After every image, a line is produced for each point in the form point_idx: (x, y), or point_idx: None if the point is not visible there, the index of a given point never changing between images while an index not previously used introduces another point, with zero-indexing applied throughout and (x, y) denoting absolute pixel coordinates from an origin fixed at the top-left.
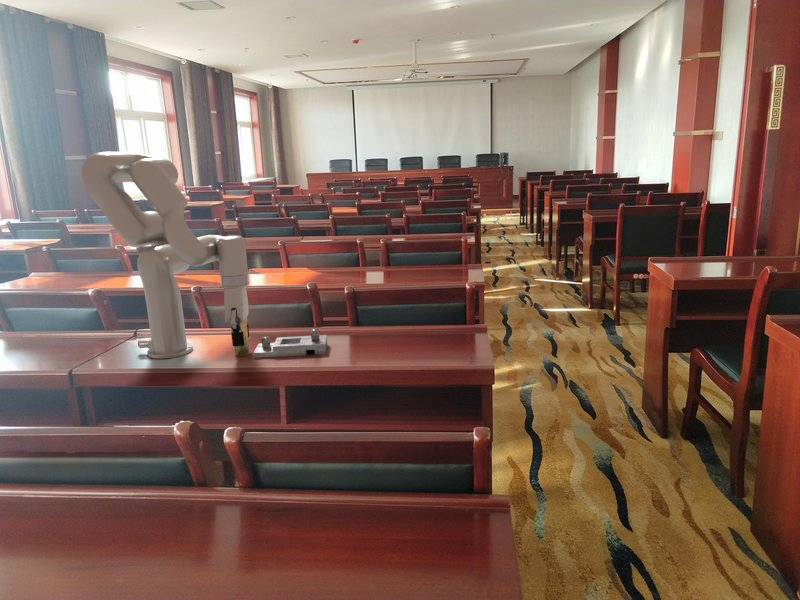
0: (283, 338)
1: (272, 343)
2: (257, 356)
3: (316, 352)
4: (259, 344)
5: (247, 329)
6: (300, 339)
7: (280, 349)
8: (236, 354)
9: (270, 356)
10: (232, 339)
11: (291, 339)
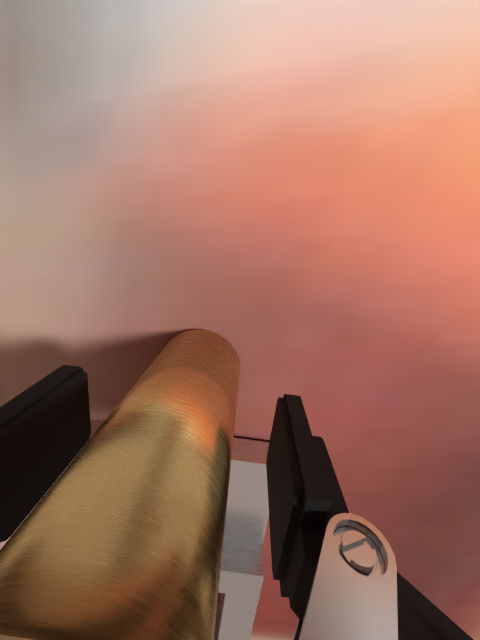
0: (232, 597)
1: (252, 523)
2: None
3: None
4: (256, 470)
5: (271, 528)
6: (217, 637)
7: None
8: (170, 341)
9: None
10: (19, 398)
11: (221, 615)
